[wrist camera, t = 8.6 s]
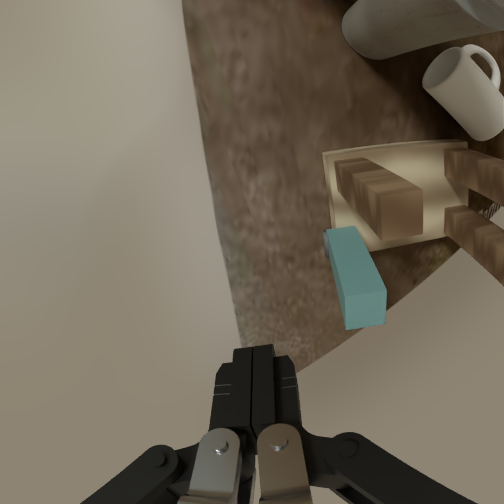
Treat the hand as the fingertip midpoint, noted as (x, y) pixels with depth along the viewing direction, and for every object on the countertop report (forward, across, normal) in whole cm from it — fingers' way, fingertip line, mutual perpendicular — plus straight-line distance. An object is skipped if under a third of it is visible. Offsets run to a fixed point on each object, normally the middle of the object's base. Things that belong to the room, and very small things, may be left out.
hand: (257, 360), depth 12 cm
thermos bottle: (+30, -18, -17) cm, 39 cm away
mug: (+30, -30, -10) cm, 43 cm away
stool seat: (+29, -18, +5) cm, 35 cm away
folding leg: (+26, -9, +9) cm, 29 cm away
